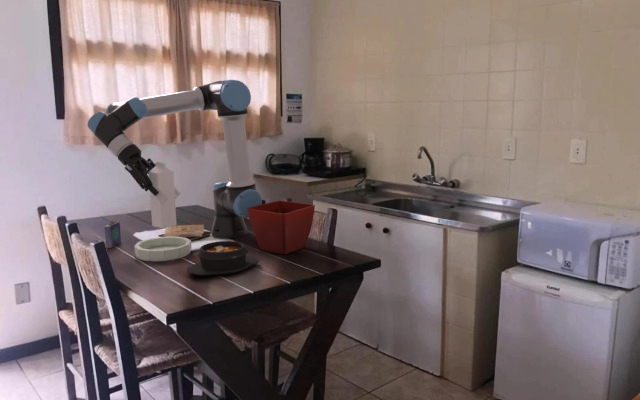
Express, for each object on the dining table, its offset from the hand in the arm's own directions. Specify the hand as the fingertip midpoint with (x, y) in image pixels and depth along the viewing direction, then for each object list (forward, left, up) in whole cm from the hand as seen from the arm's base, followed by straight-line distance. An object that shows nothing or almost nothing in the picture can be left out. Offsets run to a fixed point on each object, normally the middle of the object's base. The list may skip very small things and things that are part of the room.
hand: (171, 198), depth 179 cm
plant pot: (-37, -19, -25) cm, 48 cm away
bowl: (+8, -17, -24) cm, 31 cm away
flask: (+31, -31, -25) cm, 50 cm away
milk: (+3, -1, -10) cm, 10 cm away
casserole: (-17, +5, -25) cm, 30 cm away
